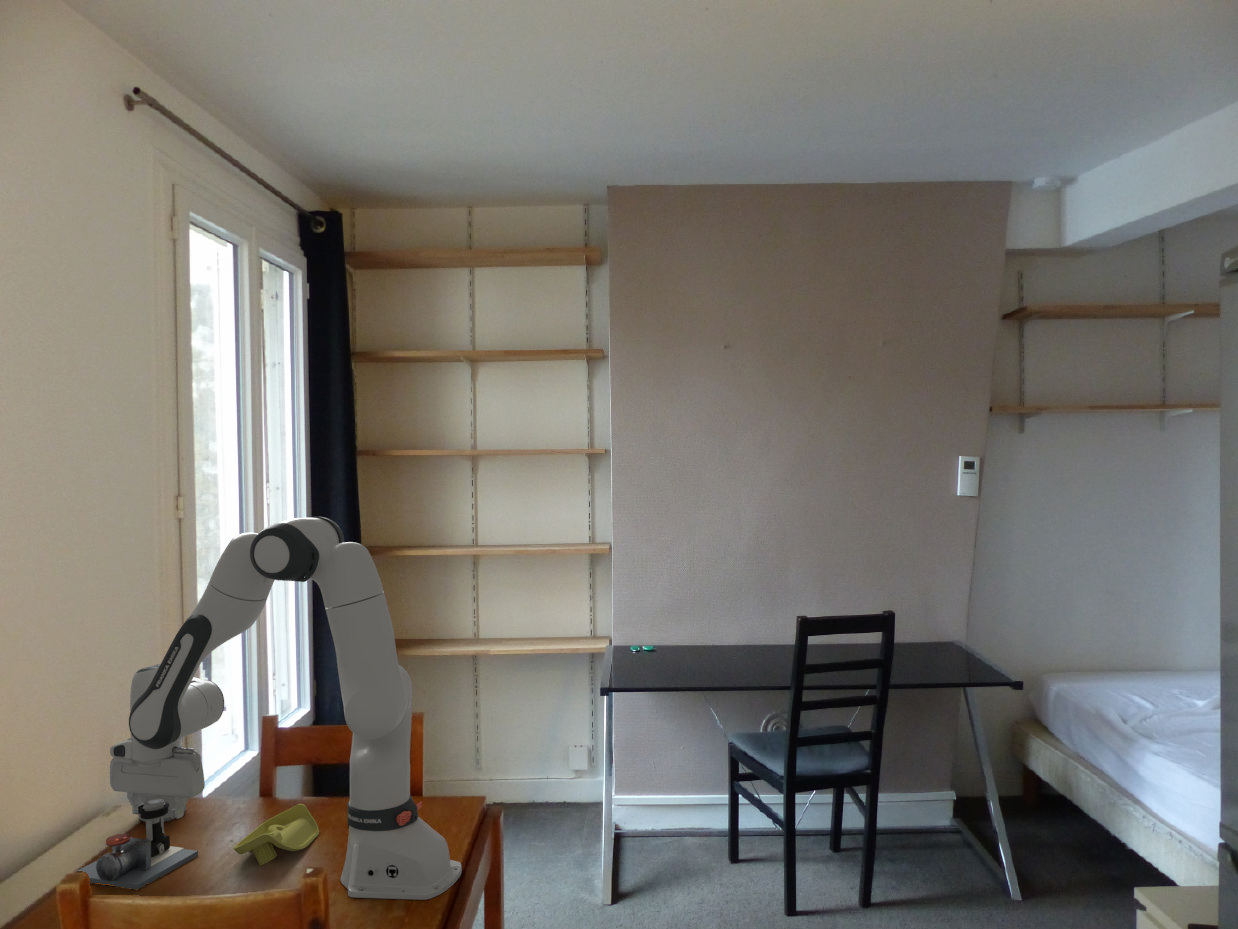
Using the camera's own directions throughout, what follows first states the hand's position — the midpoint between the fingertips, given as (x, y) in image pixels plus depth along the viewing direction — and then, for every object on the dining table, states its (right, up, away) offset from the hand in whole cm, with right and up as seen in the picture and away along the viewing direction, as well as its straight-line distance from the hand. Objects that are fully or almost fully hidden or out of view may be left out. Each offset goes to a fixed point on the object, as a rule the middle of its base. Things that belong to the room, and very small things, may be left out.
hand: (158, 815), depth 171 cm
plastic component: (+22, -9, +4) cm, 24 cm away
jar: (-11, -9, +22) cm, 26 cm away
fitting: (-3, -8, -8) cm, 12 cm away
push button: (-1, -8, 0) cm, 8 cm away
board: (-3, -9, -4) cm, 10 cm away
